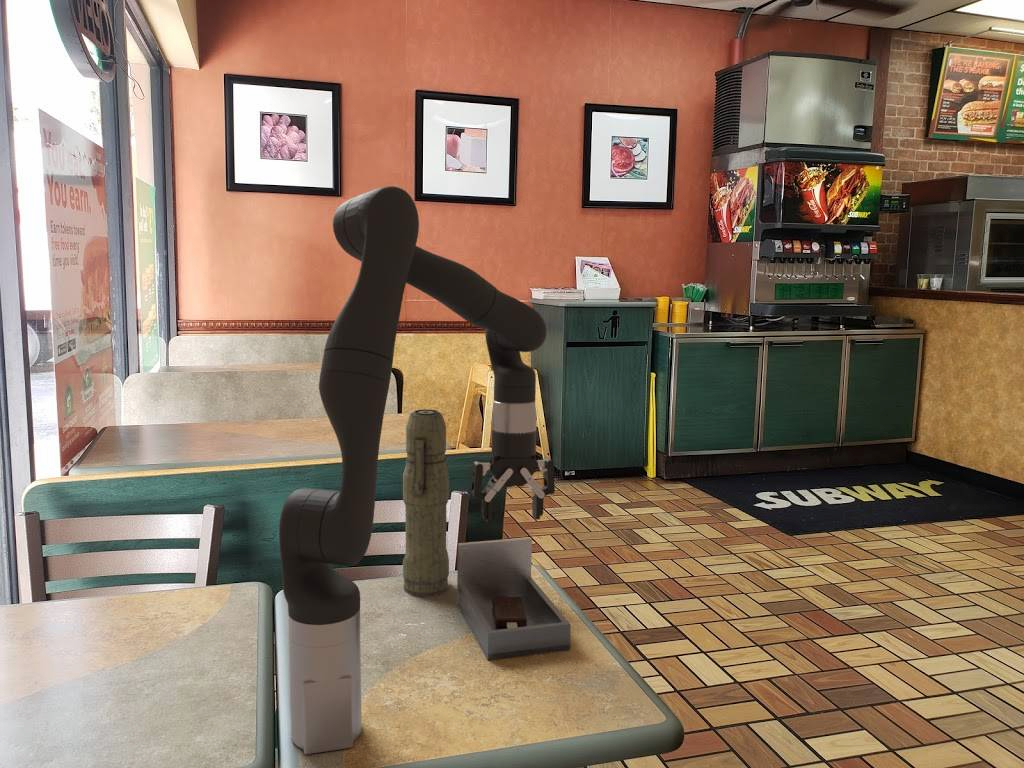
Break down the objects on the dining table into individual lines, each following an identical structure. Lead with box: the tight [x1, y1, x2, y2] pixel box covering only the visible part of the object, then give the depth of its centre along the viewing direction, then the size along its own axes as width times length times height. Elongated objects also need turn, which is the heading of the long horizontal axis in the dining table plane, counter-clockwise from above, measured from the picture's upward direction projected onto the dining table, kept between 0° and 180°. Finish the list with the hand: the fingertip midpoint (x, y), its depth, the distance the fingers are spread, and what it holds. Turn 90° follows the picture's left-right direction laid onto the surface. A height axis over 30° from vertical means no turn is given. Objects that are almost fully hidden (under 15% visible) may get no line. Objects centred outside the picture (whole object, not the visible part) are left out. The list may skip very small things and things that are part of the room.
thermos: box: [402, 408, 450, 597], centre depth 155 cm, size 9×12×35 cm
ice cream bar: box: [492, 596, 527, 629], centre depth 140 cm, size 5×2×15 cm
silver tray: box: [456, 536, 572, 661], centre depth 141 cm, size 24×14×12 cm, turn 17°
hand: (512, 519), depth 138 cm, fingers open, 8 cm apart
